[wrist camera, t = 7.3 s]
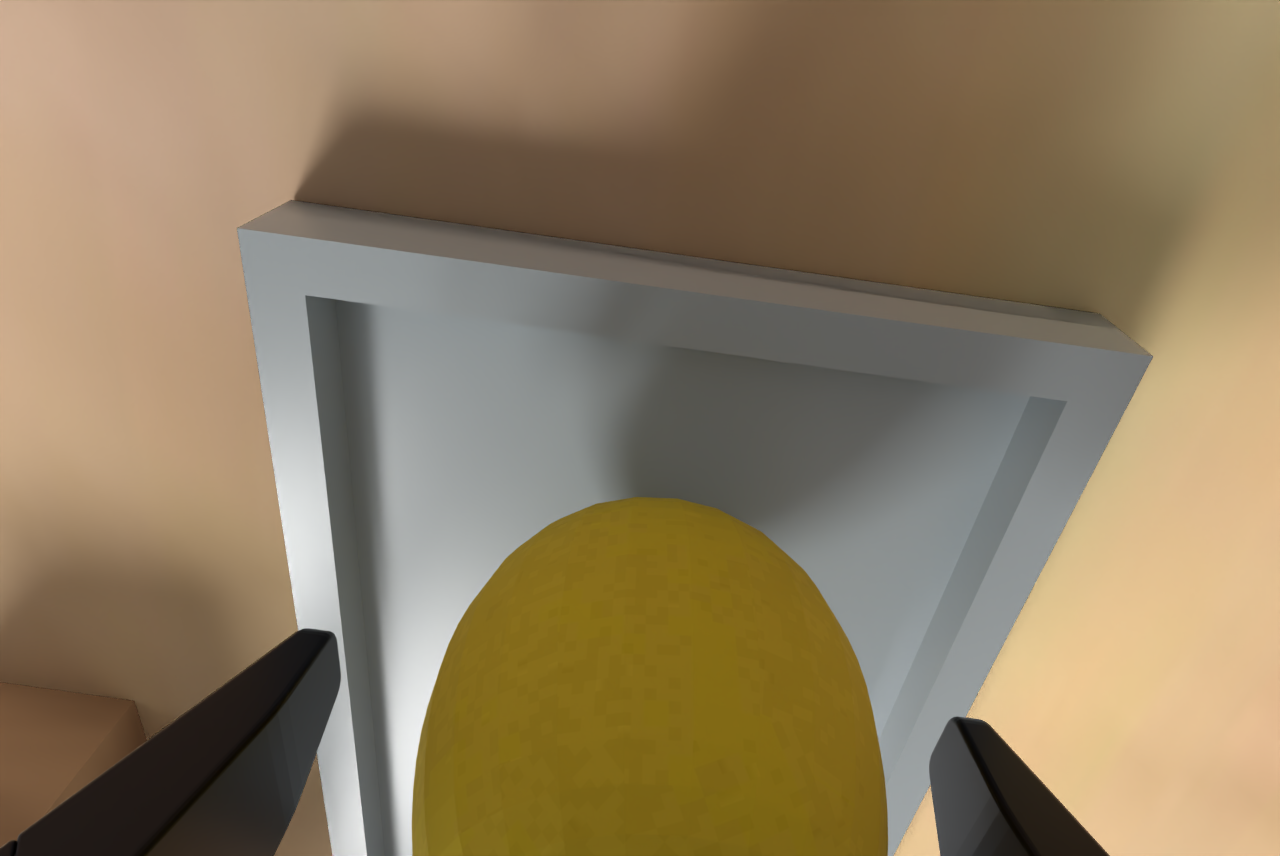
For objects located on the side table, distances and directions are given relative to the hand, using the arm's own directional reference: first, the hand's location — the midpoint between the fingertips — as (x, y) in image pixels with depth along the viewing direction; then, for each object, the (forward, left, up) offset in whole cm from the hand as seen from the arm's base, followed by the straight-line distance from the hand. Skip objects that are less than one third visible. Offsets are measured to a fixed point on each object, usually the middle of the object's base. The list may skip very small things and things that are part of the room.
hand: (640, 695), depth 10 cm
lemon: (0, 0, -4) cm, 4 cm away
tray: (-4, 0, -4) cm, 6 cm away
